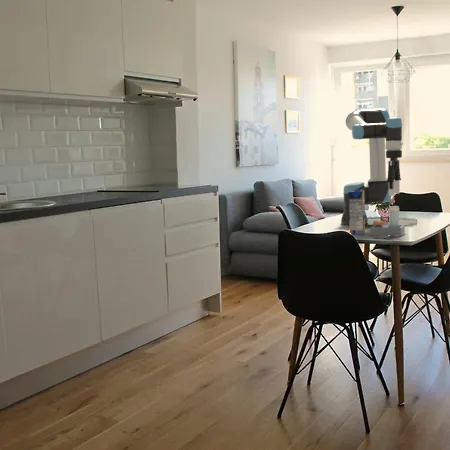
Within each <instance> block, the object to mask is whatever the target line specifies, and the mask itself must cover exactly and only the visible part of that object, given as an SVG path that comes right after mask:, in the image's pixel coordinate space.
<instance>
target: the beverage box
mask: <svg viewBox="0 0 450 450" xmlns="http://www.w3.org/2000/svg"><path fill="white" fill-rule="evenodd" d="M365 206H366V205H365V195H364V190H350V191H349V225H348V226H349V234H350V233H351V234H352V235H351V236H355V235H356V236H357V235H358V236H362V235H363V234H364V235H365V233H366V224H365V212H366V207H365ZM364 235H363V236H364Z"/></svg>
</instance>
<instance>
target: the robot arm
mask: <svg viewBox="0 0 450 450" xmlns="http://www.w3.org/2000/svg"><path fill="white" fill-rule="evenodd" d="M402 122H403V121H402V118H400V117H390V112H389V111H388V109H386V108H379V107H378V108H366V109H358V110H354V111H352V112H350V113H349V114H347V117H346V118H345V125H346V127H347V129H349V130H350V131H351V136H352V139H353V140H366V139H367V140H368V143H369V145H368V147H369V173H370V175H369V179H368V180H367V184H365V182H364V181H359V182H358V181H357V182H352V183H348V184H345V185H344V187H343V193H342V194H343V212H342V215H341V216H342V217H341V219H340V224H341V225H345V226H350V225H349V191H350V190H364V195H365V206H370V205H371V206H374V205H376V204H377V206H378V205H380V204H382V203H385V202H389V203H390V202H391V199H392V197H395V194H400V190H401V189H400V184H401V183H400V181H402V178H401V171H400V168H401V167H400V158H402V157H403V152H402V151H403V150H401V149H403V145H404V143H403V142H402V140H403V139H402V137H403V136H402V131H403V130H402V129H403V123H402ZM386 159H389V160H388V162H387V163H388V170H387V169H386ZM386 170H387V172H386ZM386 173H387V175H386ZM386 176H387V177H386ZM374 201H376V202H377V203H376V204H374V205H373V203H372V202H374ZM382 205H383V204H382ZM365 223H369V219H368V216H367V213H366V211H365Z"/></svg>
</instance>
